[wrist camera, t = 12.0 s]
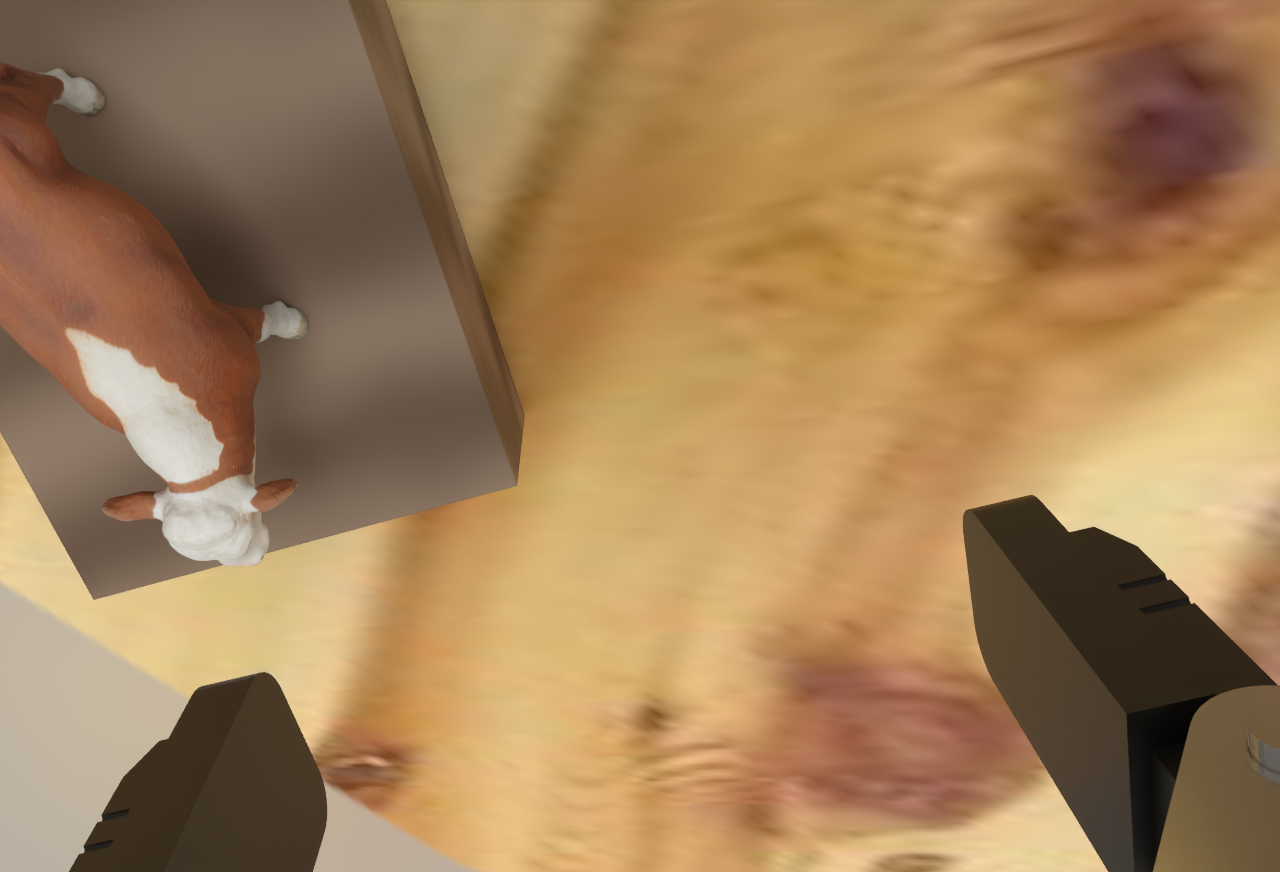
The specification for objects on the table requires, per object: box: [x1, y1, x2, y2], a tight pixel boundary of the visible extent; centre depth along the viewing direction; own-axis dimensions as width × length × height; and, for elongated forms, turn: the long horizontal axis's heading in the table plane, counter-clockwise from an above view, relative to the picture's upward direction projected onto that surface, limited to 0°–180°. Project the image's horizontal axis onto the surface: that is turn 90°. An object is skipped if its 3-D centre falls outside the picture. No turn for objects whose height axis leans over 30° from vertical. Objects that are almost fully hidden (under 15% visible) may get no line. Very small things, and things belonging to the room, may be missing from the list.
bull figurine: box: [0, 63, 309, 566], centre depth 25 cm, size 4×13×8 cm, turn 31°
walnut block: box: [0, 0, 524, 600], centre depth 32 cm, size 18×14×6 cm
